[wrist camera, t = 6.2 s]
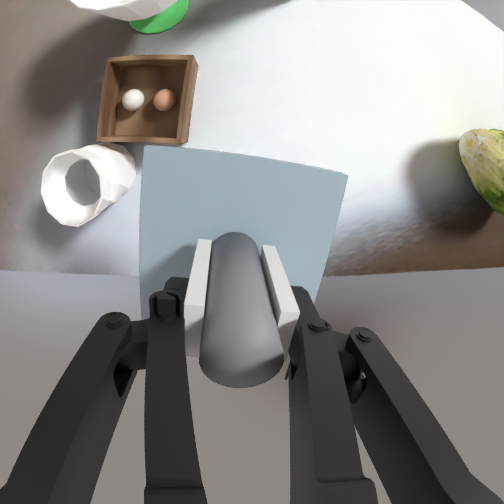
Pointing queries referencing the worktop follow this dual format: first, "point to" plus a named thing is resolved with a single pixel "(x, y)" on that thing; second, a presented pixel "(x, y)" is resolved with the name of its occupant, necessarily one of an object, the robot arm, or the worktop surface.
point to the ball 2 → (165, 100)
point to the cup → (139, 12)
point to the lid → (235, 245)
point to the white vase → (86, 181)
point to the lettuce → (485, 164)
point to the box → (146, 98)
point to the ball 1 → (133, 99)
